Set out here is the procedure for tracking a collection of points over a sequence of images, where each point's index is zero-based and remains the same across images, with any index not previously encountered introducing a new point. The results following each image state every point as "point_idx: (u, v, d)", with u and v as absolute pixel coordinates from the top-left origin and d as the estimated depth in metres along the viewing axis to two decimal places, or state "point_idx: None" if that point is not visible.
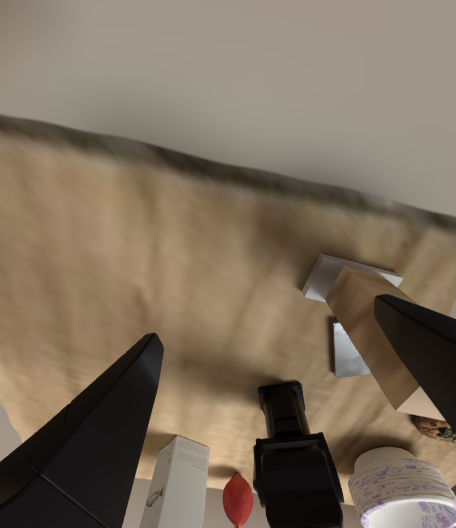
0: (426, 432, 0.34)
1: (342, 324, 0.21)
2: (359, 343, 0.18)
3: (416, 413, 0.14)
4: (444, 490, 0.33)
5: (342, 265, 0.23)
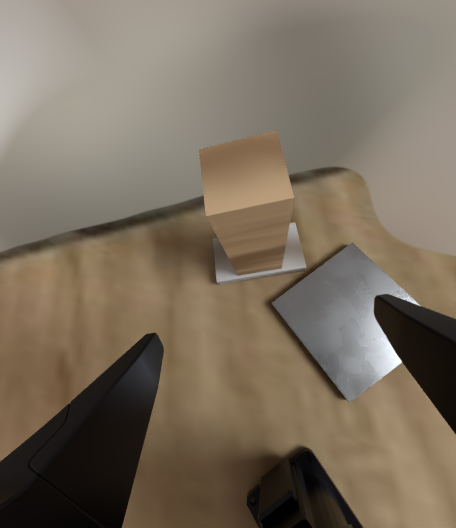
0: None
1: (231, 260, 0.18)
2: None
3: (231, 207, 0.11)
4: None
5: None
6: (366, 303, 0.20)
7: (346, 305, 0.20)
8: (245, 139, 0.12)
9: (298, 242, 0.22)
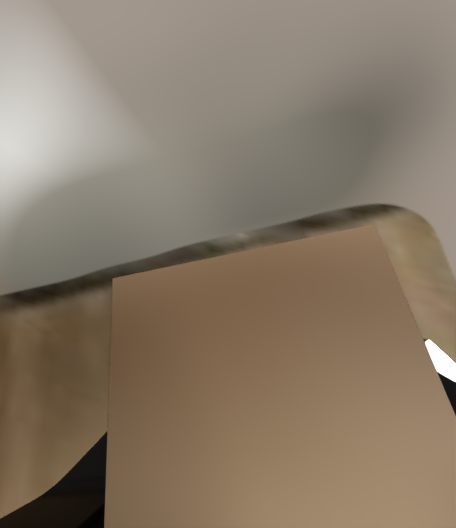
0: None
1: None
2: None
3: None
4: None
5: None
6: None
7: None
8: (262, 253, 0.04)
9: None
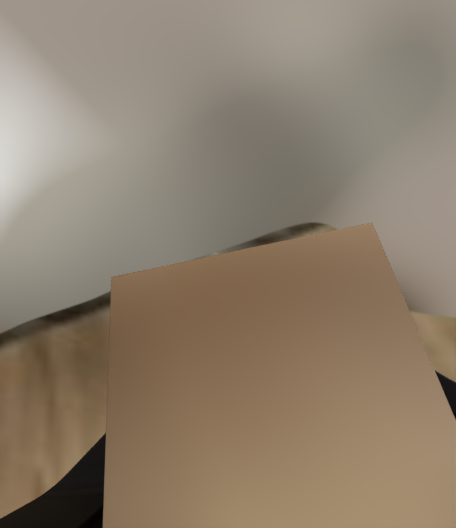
0: None
1: None
2: None
3: None
4: None
5: None
6: None
7: None
8: (261, 252, 0.04)
9: None
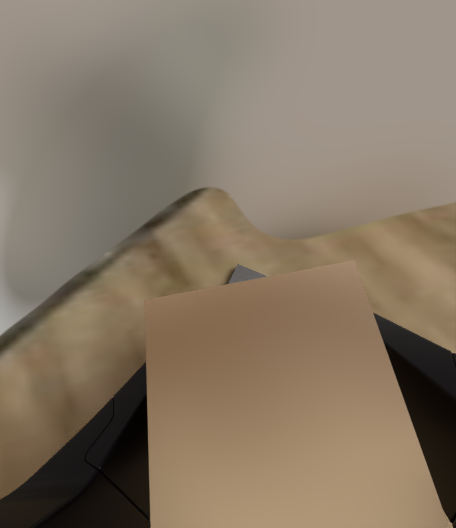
0: None
1: None
2: None
3: None
4: None
5: None
6: None
7: None
8: (266, 282, 0.04)
9: None
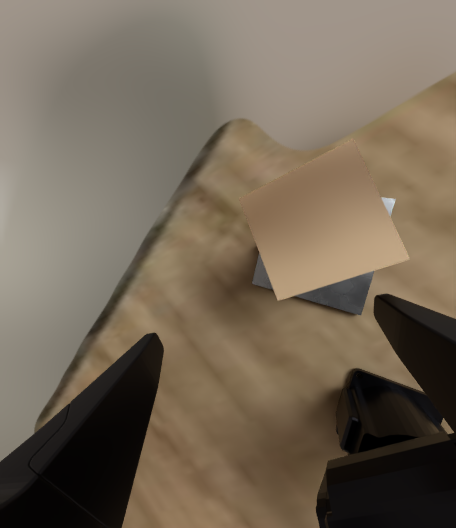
0: None
1: None
2: None
3: (311, 285, 0.08)
4: None
5: None
6: None
7: None
8: (303, 167, 0.08)
9: None
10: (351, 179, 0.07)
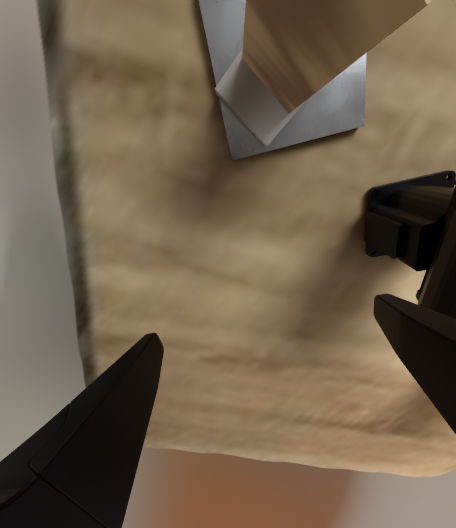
0: None
1: (304, 96, 0.11)
2: (318, 70, 0.09)
3: None
4: None
5: (240, 60, 0.14)
6: None
7: None
8: None
9: None
10: None
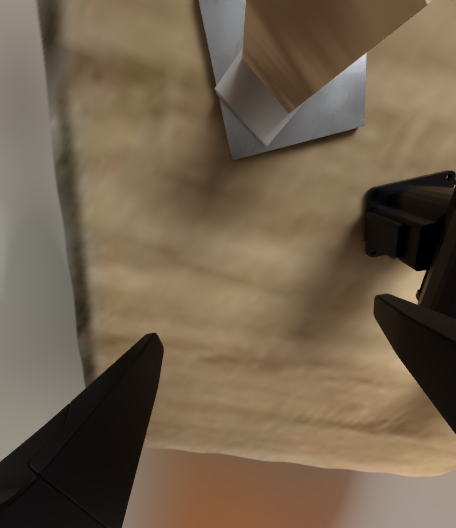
0: None
1: (305, 96, 0.11)
2: (318, 70, 0.09)
3: None
4: None
5: (240, 60, 0.14)
6: None
7: None
8: None
9: None
10: None
